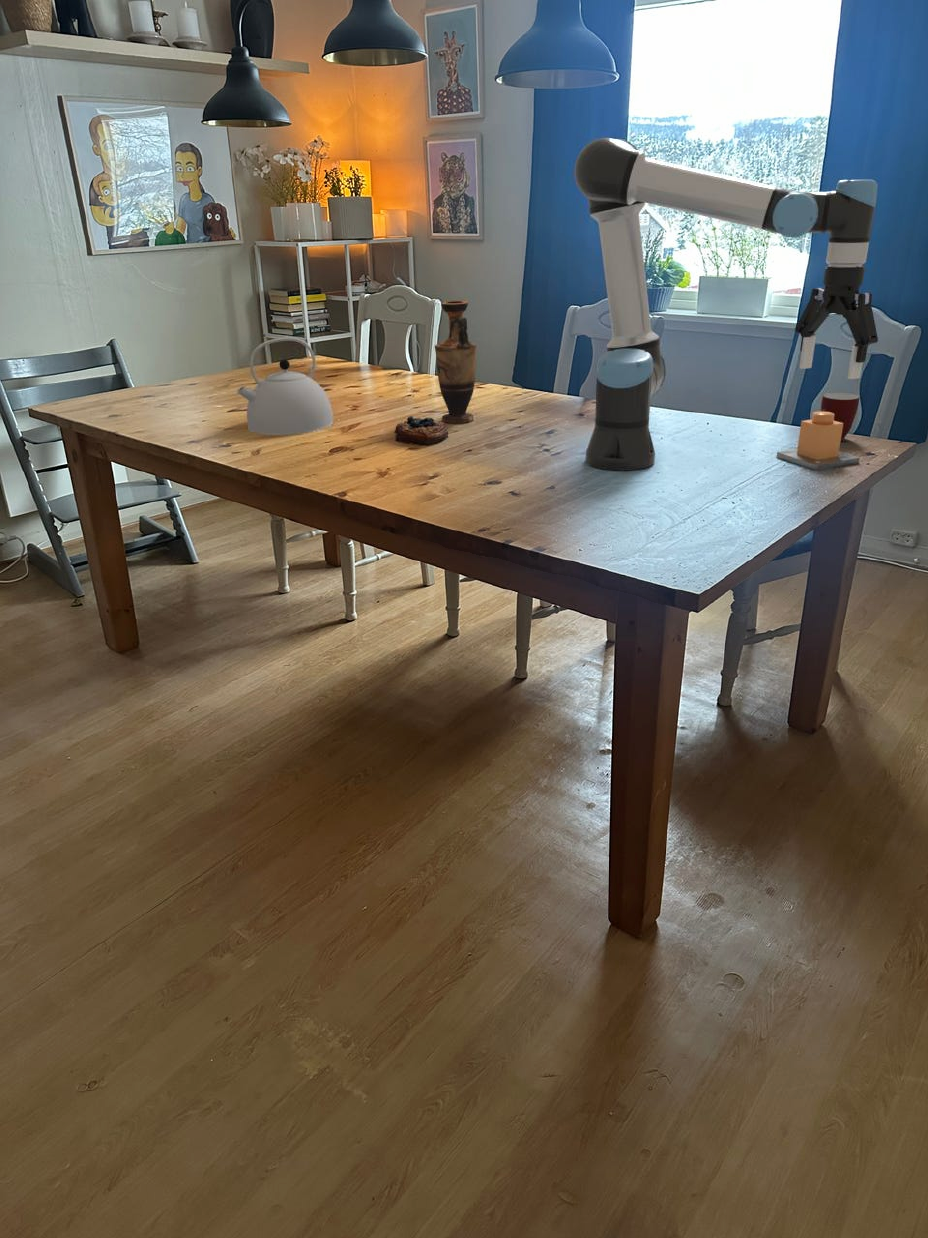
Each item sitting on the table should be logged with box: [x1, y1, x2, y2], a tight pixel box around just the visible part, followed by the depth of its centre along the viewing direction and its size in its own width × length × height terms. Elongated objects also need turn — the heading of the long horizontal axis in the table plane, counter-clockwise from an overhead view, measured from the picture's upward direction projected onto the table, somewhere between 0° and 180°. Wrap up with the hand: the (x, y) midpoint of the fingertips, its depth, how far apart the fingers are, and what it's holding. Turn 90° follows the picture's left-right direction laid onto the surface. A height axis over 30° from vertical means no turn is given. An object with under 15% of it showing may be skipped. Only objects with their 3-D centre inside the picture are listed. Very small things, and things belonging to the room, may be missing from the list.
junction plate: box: [776, 448, 860, 472], centre depth 195 cm, size 12×12×7 cm
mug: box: [820, 392, 860, 441], centre depth 210 cm, size 10×8×10 cm
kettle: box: [236, 336, 334, 436], centre depth 234 cm, size 25×23×23 cm
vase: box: [434, 300, 478, 424], centre depth 232 cm, size 11×11×30 cm
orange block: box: [797, 410, 843, 460], centre depth 194 cm, size 6×6×9 cm
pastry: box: [394, 415, 449, 447], centre depth 220 cm, size 11×12×6 cm
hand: (828, 373), depth 188 cm, fingers open, 13 cm apart
